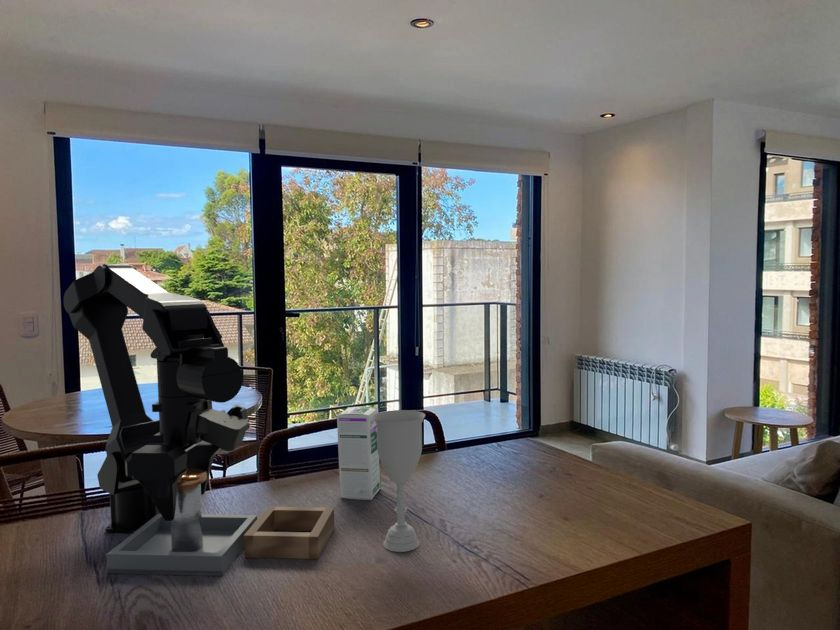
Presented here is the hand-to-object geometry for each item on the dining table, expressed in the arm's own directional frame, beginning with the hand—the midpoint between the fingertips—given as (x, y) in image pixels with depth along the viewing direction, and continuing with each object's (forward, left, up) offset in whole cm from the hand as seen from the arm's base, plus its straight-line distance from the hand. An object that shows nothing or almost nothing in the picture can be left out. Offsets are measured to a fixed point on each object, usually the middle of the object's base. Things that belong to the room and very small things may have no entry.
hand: (185, 506), depth 82 cm
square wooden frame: (+14, +3, -6) cm, 15 cm away
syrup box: (+20, +22, -6) cm, 31 cm away
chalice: (+29, +3, -6) cm, 30 cm away
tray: (0, 0, -6) cm, 6 cm away
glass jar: (0, 0, -6) cm, 6 cm away
